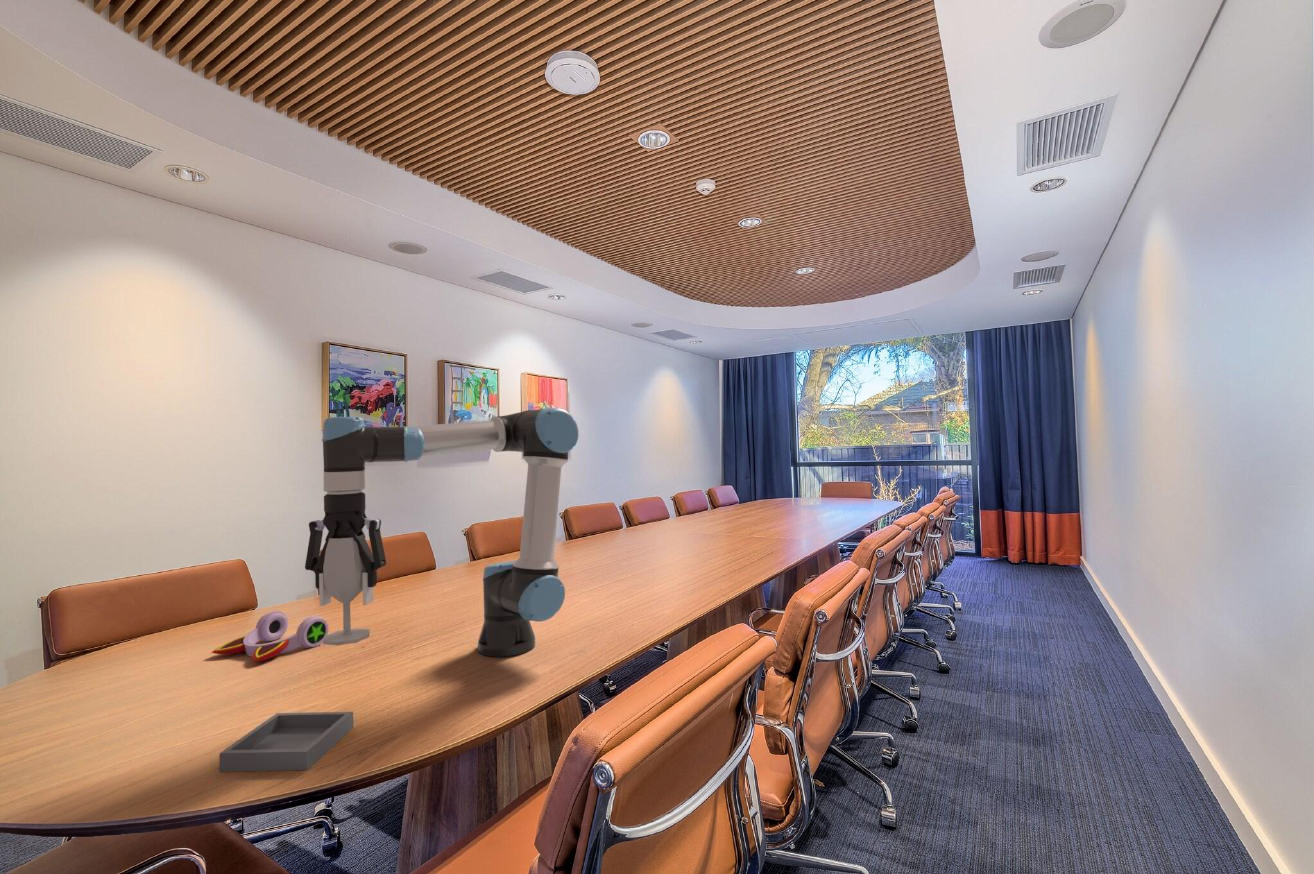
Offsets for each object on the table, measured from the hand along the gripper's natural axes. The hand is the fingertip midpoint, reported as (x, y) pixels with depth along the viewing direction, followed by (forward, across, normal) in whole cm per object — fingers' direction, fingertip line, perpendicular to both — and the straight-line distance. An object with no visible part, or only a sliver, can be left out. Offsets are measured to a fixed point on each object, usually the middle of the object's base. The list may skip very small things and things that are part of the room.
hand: (346, 603), depth 120 cm
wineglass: (+7, 0, 0) cm, 7 cm away
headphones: (+24, +44, -42) cm, 65 cm away
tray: (+23, +4, +12) cm, 26 cm away
